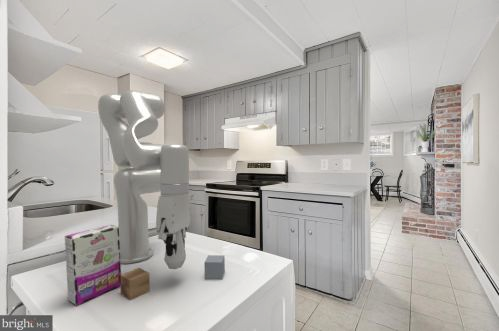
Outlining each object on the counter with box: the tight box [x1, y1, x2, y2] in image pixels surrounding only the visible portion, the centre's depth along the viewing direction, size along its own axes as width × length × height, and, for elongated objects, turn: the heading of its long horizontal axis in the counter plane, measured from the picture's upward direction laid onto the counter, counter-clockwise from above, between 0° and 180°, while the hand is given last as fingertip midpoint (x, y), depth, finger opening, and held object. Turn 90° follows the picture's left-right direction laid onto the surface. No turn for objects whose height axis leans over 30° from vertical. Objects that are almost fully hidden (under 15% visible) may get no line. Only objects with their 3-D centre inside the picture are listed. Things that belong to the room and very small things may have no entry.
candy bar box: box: [64, 224, 122, 306], centre depth 62 cm, size 11×5×16 cm, turn 148°
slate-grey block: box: [203, 254, 226, 281], centre depth 71 cm, size 5×5×5 cm
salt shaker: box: [163, 230, 187, 270], centre depth 67 cm, size 6×6×13 cm
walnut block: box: [120, 267, 151, 301], centre depth 62 cm, size 5×5×5 cm
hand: (175, 254), depth 67 cm, fingers closed on salt shaker, 3 cm apart
